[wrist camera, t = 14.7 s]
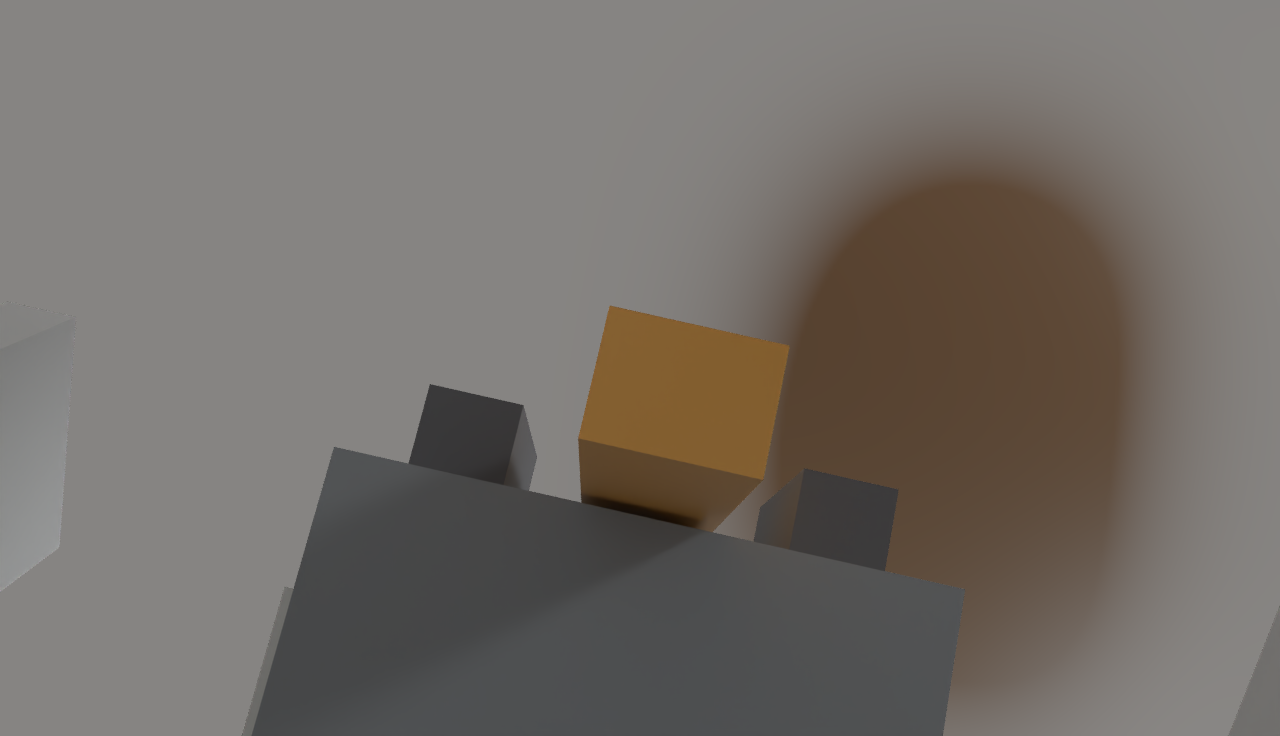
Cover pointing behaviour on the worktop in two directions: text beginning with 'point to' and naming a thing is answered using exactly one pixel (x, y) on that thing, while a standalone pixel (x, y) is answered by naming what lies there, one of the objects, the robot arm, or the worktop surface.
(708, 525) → the handle
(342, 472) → the breaker panel
